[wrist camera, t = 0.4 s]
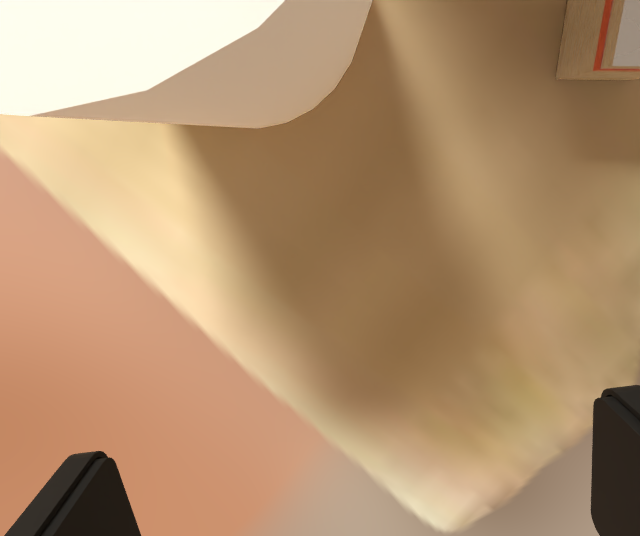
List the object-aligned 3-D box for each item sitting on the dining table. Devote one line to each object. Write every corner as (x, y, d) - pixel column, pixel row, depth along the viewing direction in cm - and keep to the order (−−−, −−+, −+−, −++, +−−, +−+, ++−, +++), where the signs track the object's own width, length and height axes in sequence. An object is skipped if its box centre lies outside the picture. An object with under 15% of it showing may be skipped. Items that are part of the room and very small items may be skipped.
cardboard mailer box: (567, -6, 32) (631, -43, 25) (648, -6, 32) (733, -42, 25) (554, 80, 33) (611, 66, 27) (630, 80, 33) (706, 67, 27)
